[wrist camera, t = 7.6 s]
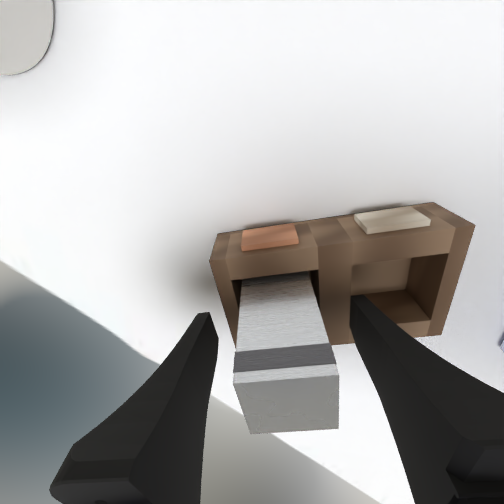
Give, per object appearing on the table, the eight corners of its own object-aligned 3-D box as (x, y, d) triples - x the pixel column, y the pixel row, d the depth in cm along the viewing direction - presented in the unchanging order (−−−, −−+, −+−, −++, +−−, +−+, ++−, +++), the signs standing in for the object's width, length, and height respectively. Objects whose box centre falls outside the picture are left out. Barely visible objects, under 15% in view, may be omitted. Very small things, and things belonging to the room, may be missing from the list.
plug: (300, 248, 15) (339, 374, 8) (304, 292, 16) (339, 429, 9) (243, 255, 15) (232, 383, 8) (253, 298, 17) (250, 434, 10)
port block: (434, 196, 13) (477, 218, 11) (412, 299, 17) (441, 334, 14) (216, 229, 14) (207, 255, 12) (240, 318, 18) (237, 354, 15)
